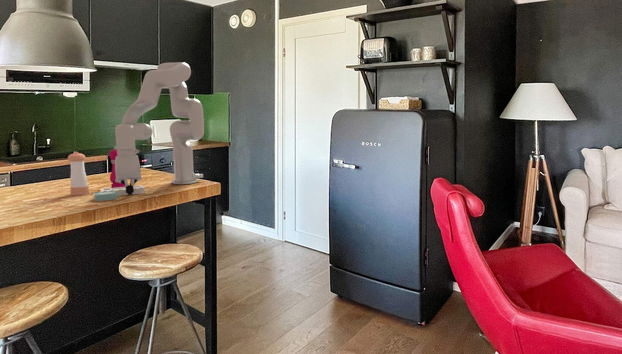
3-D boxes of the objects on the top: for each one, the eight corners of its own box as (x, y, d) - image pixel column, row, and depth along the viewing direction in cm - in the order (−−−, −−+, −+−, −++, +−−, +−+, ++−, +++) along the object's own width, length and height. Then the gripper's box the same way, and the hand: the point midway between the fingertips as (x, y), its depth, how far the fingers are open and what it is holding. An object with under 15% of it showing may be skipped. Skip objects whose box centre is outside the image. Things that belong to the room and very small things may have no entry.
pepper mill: (120, 189, 210) (117, 147, 207) (107, 188, 211) (103, 146, 208) (129, 186, 217) (126, 145, 213) (116, 185, 218) (113, 145, 215)
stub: (115, 196, 194) (114, 190, 193) (116, 199, 189) (116, 193, 188) (94, 198, 190) (94, 192, 189) (95, 201, 185) (95, 195, 184)
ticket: (142, 190, 207) (142, 185, 206) (145, 193, 201) (144, 187, 200) (100, 194, 198) (100, 188, 197) (101, 197, 192) (101, 191, 191)
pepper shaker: (76, 196, 194) (72, 153, 191) (67, 194, 198) (63, 152, 195) (92, 193, 200) (88, 151, 197) (83, 191, 204) (79, 150, 201)
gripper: (143, 151, 197) (146, 191, 201) (107, 153, 190) (110, 194, 194) (146, 152, 191) (149, 194, 194) (108, 155, 184) (112, 198, 187)
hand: (130, 194), depth 194 cm, fingers closed
